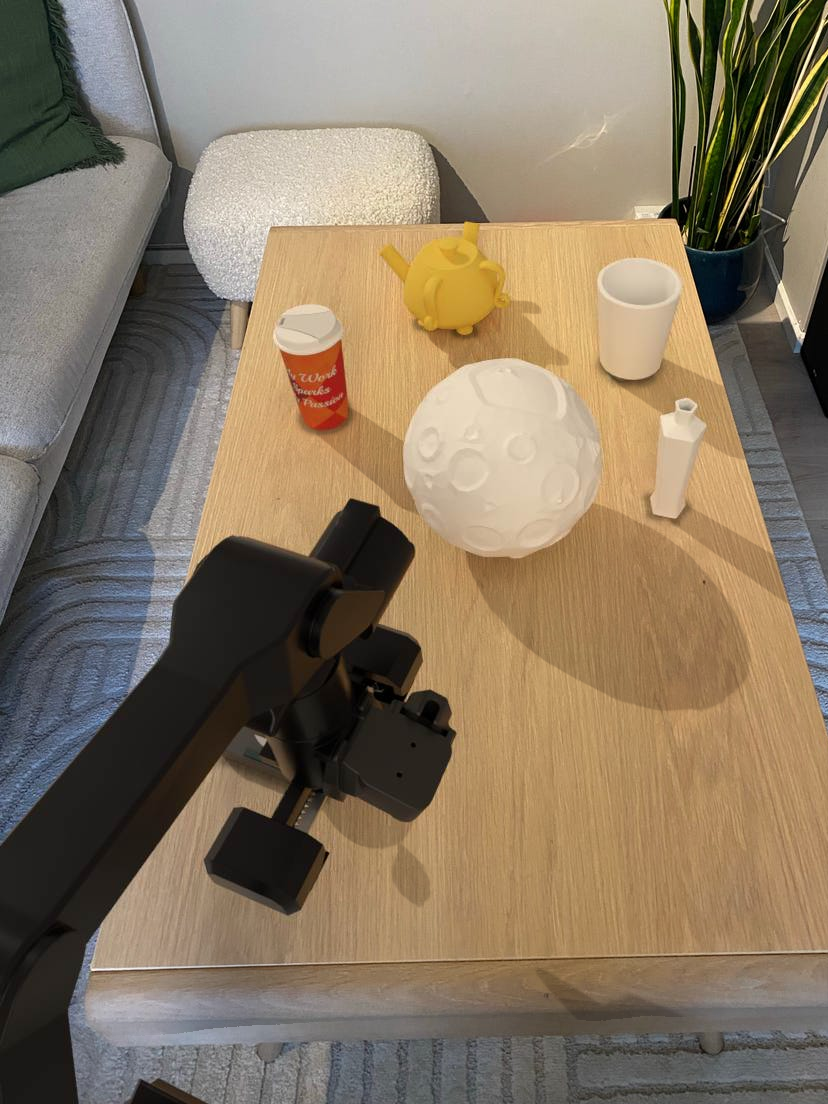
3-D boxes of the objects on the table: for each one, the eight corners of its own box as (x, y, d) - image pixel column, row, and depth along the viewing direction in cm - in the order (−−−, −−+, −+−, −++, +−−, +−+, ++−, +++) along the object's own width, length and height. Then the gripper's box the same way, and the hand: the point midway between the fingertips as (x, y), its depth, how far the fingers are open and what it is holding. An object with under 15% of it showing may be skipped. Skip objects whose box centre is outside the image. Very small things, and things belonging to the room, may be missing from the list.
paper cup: (285, 433, 109) (261, 342, 98) (304, 389, 114) (283, 298, 103) (349, 439, 108) (331, 348, 97) (365, 395, 113) (350, 304, 102)
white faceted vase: (657, 526, 98) (676, 427, 87) (639, 497, 100) (655, 397, 89) (696, 515, 98) (719, 415, 87) (677, 486, 101) (697, 386, 90)
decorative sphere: (630, 556, 95) (650, 424, 81) (451, 623, 90) (439, 494, 76) (548, 434, 107) (554, 300, 93) (387, 486, 103) (366, 353, 88)
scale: (321, 796, 79) (317, 783, 77) (222, 757, 81) (215, 744, 80) (373, 697, 85) (369, 683, 83) (279, 664, 88) (274, 649, 86)
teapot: (477, 269, 130) (474, 199, 121) (521, 323, 121) (521, 252, 113) (383, 298, 126) (373, 228, 118) (421, 356, 117) (414, 285, 109)
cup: (586, 341, 118) (592, 258, 109) (661, 337, 119) (674, 254, 109) (595, 393, 112) (603, 310, 102) (675, 389, 112) (690, 306, 102)
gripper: (354, 907, 46) (386, 986, 57) (489, 610, 57) (493, 726, 69) (167, 827, 49) (233, 917, 60) (331, 560, 60) (361, 679, 72)
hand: (341, 803), depth 65 cm, fingers open, 9 cm apart
